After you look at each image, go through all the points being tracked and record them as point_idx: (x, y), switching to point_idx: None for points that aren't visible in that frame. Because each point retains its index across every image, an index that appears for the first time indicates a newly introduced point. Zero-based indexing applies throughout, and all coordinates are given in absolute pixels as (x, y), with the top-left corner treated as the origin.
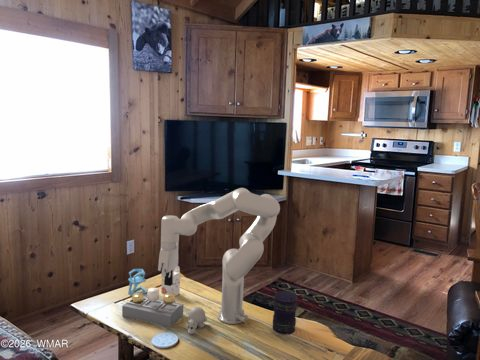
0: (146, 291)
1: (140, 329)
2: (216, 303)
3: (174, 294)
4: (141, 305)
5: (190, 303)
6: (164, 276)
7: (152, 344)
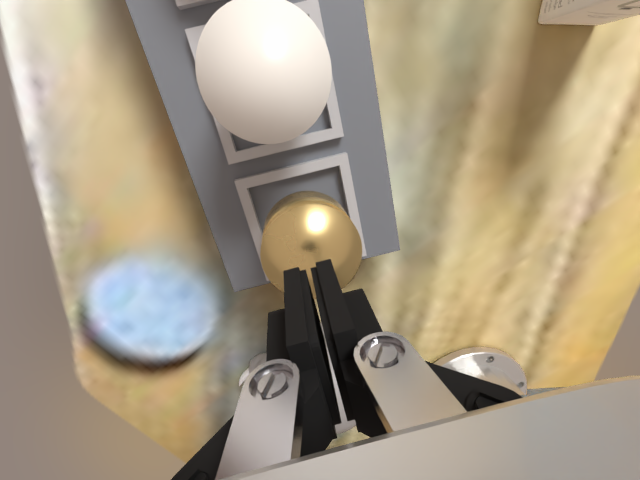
0: None
1: (112, 153)
2: (554, 281)
3: (350, 276)
4: (198, 7)
5: (502, 177)
6: (253, 380)
7: (80, 299)
